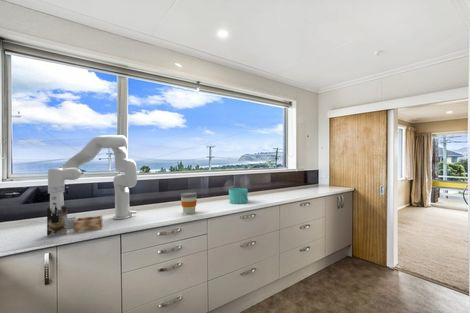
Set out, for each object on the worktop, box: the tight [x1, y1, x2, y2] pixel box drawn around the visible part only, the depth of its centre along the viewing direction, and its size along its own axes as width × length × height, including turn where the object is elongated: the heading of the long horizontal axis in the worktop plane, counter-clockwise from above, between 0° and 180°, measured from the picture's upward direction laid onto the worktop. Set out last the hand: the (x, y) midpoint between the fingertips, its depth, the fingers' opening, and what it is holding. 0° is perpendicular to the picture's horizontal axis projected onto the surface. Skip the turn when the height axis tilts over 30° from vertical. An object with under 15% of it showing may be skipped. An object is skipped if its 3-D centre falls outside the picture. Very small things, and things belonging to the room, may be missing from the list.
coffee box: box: [46, 204, 68, 238], centre depth 130 cm, size 9×6×16 cm
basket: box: [228, 187, 249, 205], centre depth 219 cm, size 19×18×13 cm
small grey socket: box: [67, 216, 79, 229], centre depth 146 cm, size 8×8×5 cm
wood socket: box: [73, 214, 104, 234], centre depth 141 cm, size 14×11×6 cm
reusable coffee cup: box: [180, 191, 198, 215], centre depth 181 cm, size 12×13×15 cm
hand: (56, 220), depth 130 cm, fingers closed on coffee box, 7 cm apart
